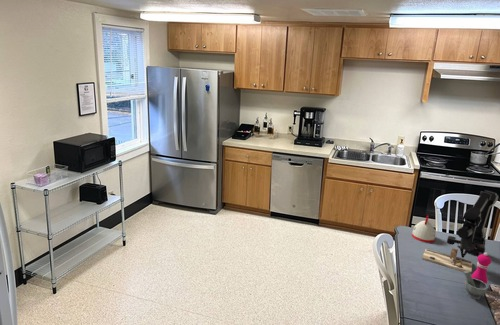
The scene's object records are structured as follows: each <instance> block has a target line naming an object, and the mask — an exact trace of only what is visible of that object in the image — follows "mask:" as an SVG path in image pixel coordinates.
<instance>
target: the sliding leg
mask: <svg viewBox="0 0 500 325" xmlns="http://www.w3.org/2000/svg"><path fill="white" fill-rule="evenodd" d="M458 249H459V248H456V247H451V250H450V251H451V252H450V254H449V255H450V259H452V261H451V263H453V260H456V257H458V256H457V254H458V251H459V250H458Z"/></svg>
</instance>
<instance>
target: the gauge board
mask: <svg viewBox="0 0 500 325" xmlns="http://www.w3.org/2000/svg"><path fill="white" fill-rule="evenodd" d="M450 255H451V254H448V253H445V252H441V251H438V250H434V249H430V248H427V247H426V248H425V250H424V252H423V254H422V257H421V259H422V260H425V261H427V262H430V263H433V264H437V265H439V266H440V265H441V266H444V267H446V268H449V269H450V268H451V269H454V270H456V271H460V272H463V273H464V271H470V275H472V272H473V271H472V270H473V260H469V259H465V258H462V257H458V256H456V260H453V263H451V261H452V259H450Z"/></svg>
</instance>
